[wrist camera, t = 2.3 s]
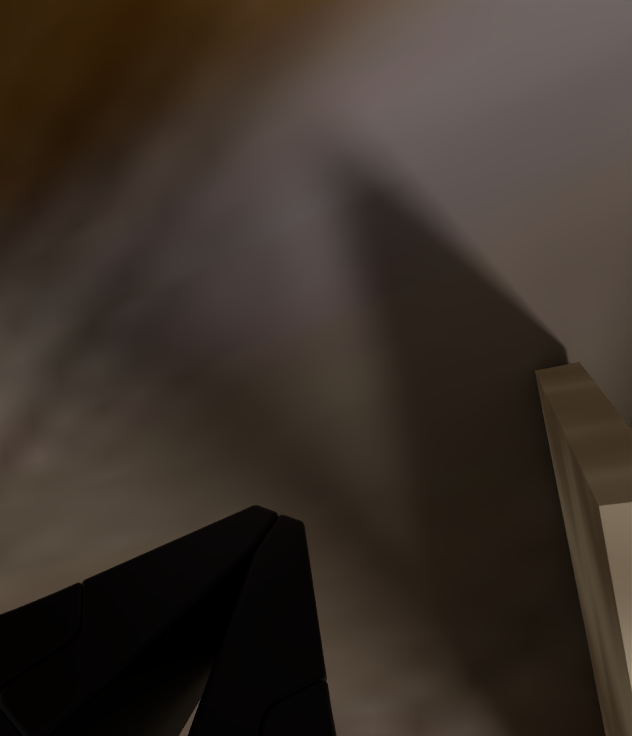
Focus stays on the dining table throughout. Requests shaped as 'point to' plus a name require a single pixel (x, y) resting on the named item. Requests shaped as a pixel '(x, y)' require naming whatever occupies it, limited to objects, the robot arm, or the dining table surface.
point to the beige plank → (596, 524)
